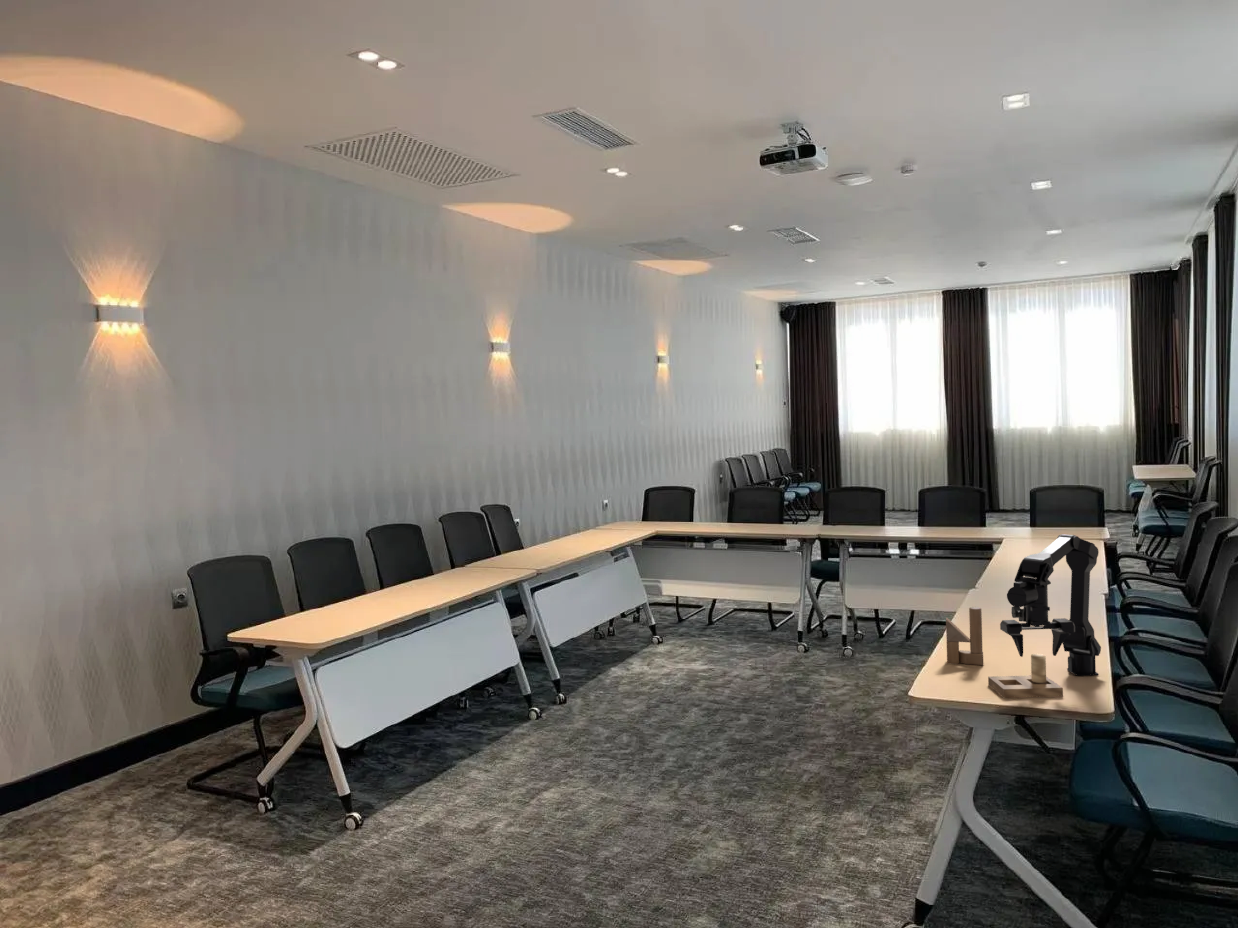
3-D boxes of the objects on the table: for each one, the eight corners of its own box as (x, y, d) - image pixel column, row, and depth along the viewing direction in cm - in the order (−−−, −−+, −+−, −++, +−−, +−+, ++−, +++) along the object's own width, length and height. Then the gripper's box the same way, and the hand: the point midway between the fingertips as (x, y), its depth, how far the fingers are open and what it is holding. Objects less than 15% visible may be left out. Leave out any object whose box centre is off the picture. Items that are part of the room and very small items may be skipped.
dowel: (1043, 687, 250) (1042, 653, 249) (1049, 692, 246) (1048, 657, 245) (1029, 688, 250) (1028, 653, 249) (1034, 692, 246) (1034, 657, 245)
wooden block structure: (947, 660, 281) (945, 605, 280) (983, 662, 277) (981, 606, 276) (947, 663, 278) (945, 607, 277) (983, 665, 274) (982, 609, 273)
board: (1044, 683, 253) (1044, 674, 253) (1062, 696, 242) (1062, 687, 241) (988, 684, 254) (988, 676, 254) (1004, 697, 242) (1003, 689, 242)
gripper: (1057, 595, 254) (1058, 647, 255) (992, 597, 255) (993, 649, 256) (1075, 602, 243) (1076, 658, 243) (1007, 605, 244) (1008, 659, 245)
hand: (1037, 655), depth 247 cm, fingers open, 9 cm apart
